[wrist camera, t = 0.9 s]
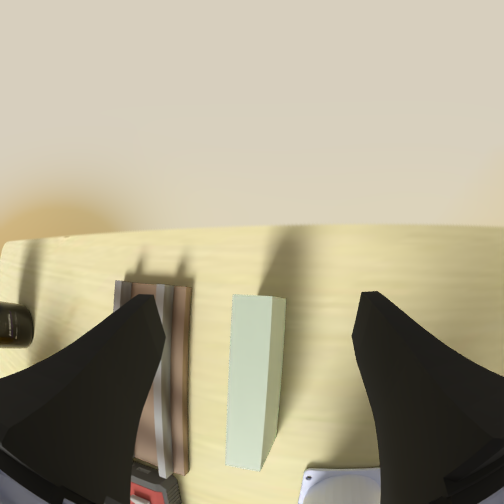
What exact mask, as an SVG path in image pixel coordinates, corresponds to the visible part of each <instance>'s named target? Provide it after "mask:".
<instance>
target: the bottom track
mask: <svg viewBox="0 0 504 504" xmlns="http://www.w3.org/2000/svg"><path fill="white" fill-rule="evenodd" d="M191 290H192V288H191V287H182V286H171V285H165V284H157V285H155V284H142V283H131V282H125V281H117V280H116V281H115V293H114V309H113V312H115V311H116V310H117V309H119V308H120V307H121V306H123V305H124V304H125V303H126V302H128V301H129V300H131V299H132V298H133V297H135V296H136V295H138V294H152V295H154V298H155V301H156V305H157V308H158V312H159V315H160V319H161V322H162V326H163V329H164V332H165V335H166V339H165V344H164V349H163V353H162V357H161V361H160V364H159V367H158V369H157V372H156V375H155V378H154V380H153V383H152V386H151V388H150V391H149V394H148V397H147V399H146V402H145V405H144V408H143V411H142V414H141V418H140V422H139V426H138V431H137V436H136V442H135V448H134V455H133V458H134V457H136V458H138V459H140V460H143V461H145V462H148V463H150V464H152V465H155V466H158V470H159V476H160V477H163V478H165V479H167V478H168V477H169V476H170V475H171V474H173V473H177V474H180V475H183V476H185V475H186V474H187V473H188V472H189V460H188V420H187V390H188V347H189V323H190V305H191Z"/></svg>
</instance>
